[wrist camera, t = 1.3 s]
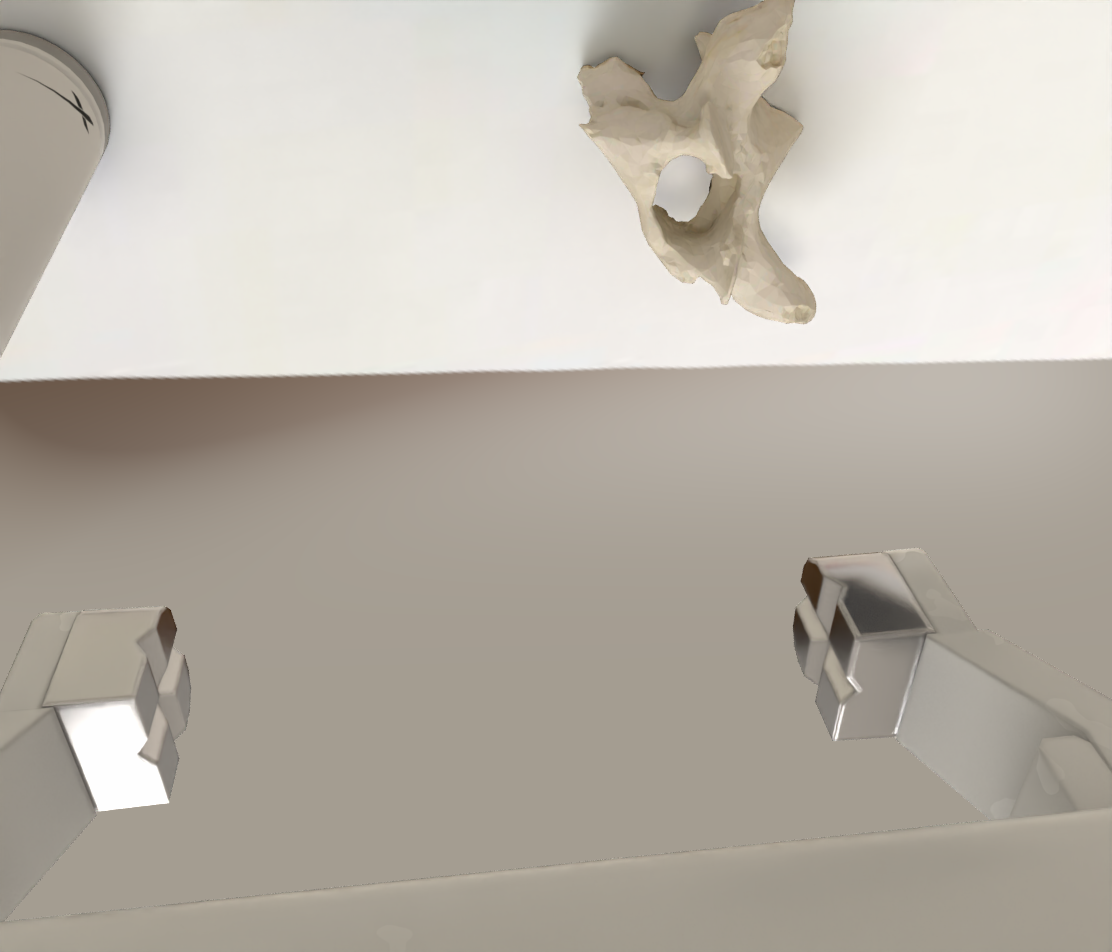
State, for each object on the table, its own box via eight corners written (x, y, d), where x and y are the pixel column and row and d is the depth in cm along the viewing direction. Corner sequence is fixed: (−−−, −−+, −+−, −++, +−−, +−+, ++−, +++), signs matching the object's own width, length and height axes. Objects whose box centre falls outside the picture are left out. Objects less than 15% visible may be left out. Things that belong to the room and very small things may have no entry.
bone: (735, -39, 41) (817, 1, 35) (844, 231, 50) (926, 303, 43) (550, 84, 43) (596, 144, 36) (686, 328, 51) (743, 411, 45)
